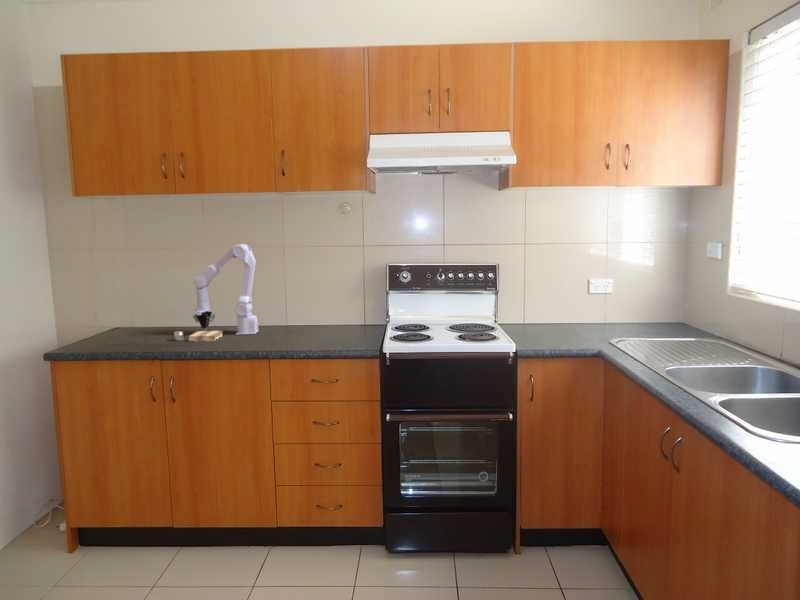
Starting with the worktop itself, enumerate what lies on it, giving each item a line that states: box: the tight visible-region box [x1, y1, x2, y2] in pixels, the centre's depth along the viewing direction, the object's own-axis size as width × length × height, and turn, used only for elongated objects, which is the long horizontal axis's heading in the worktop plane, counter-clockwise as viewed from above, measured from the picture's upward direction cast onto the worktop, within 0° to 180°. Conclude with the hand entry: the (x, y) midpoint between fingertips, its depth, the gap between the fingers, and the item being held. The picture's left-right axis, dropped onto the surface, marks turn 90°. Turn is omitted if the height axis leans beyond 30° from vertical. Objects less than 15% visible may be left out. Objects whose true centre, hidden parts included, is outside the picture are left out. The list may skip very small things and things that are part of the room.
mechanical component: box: [192, 313, 216, 331], centre depth 271 cm, size 3×10×10 cm, turn 89°
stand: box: [188, 330, 223, 342], centre depth 261 cm, size 12×12×2 cm
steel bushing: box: [173, 330, 185, 342], centre depth 259 cm, size 4×4×4 cm
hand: (205, 327), depth 272 cm, fingers closed on mechanical component, 3 cm apart
